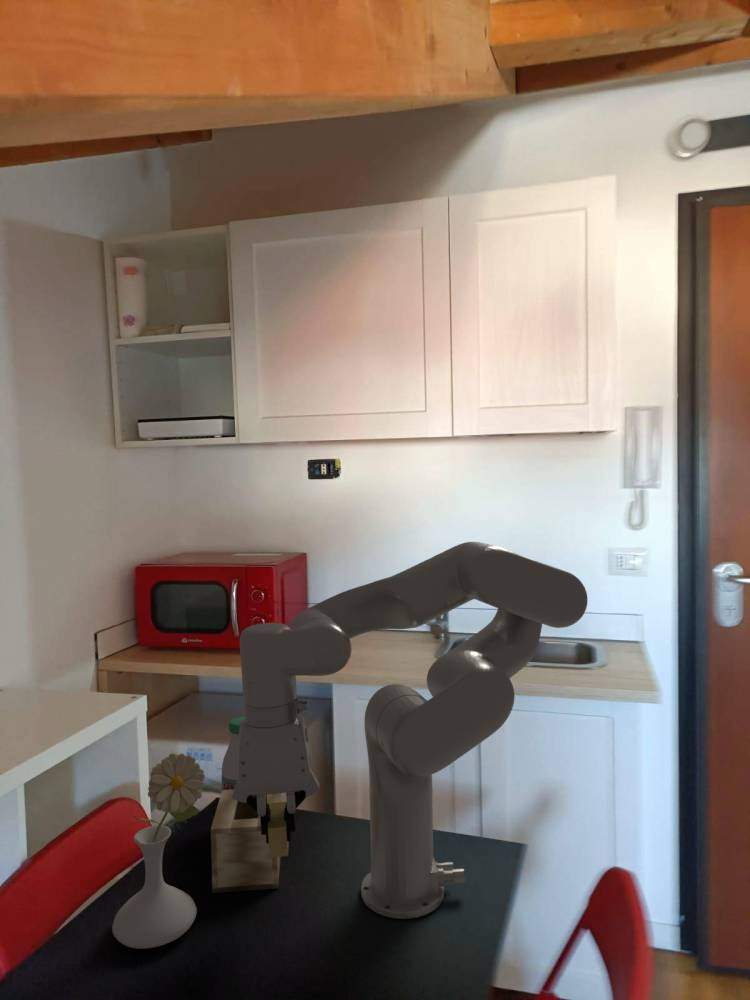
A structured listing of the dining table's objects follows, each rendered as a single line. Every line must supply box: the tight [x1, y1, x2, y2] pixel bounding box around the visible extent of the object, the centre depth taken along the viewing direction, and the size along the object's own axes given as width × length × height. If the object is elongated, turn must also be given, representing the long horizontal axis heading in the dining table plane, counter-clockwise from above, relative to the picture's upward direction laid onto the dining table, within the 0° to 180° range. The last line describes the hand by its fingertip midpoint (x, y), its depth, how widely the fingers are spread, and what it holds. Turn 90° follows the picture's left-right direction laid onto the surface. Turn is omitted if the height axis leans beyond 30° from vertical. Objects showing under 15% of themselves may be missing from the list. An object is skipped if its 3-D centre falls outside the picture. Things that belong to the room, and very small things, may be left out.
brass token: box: [268, 801, 290, 858], centre depth 98 cm, size 2×5×5 cm, turn 5°
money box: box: [210, 789, 282, 894], centre depth 111 cm, size 10×13×10 cm
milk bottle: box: [221, 716, 245, 791], centre depth 123 cm, size 8×8×20 cm
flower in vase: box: [111, 752, 206, 950], centre depth 96 cm, size 13×11×25 cm
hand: (279, 836), depth 98 cm, fingers closed on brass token, 2 cm apart
